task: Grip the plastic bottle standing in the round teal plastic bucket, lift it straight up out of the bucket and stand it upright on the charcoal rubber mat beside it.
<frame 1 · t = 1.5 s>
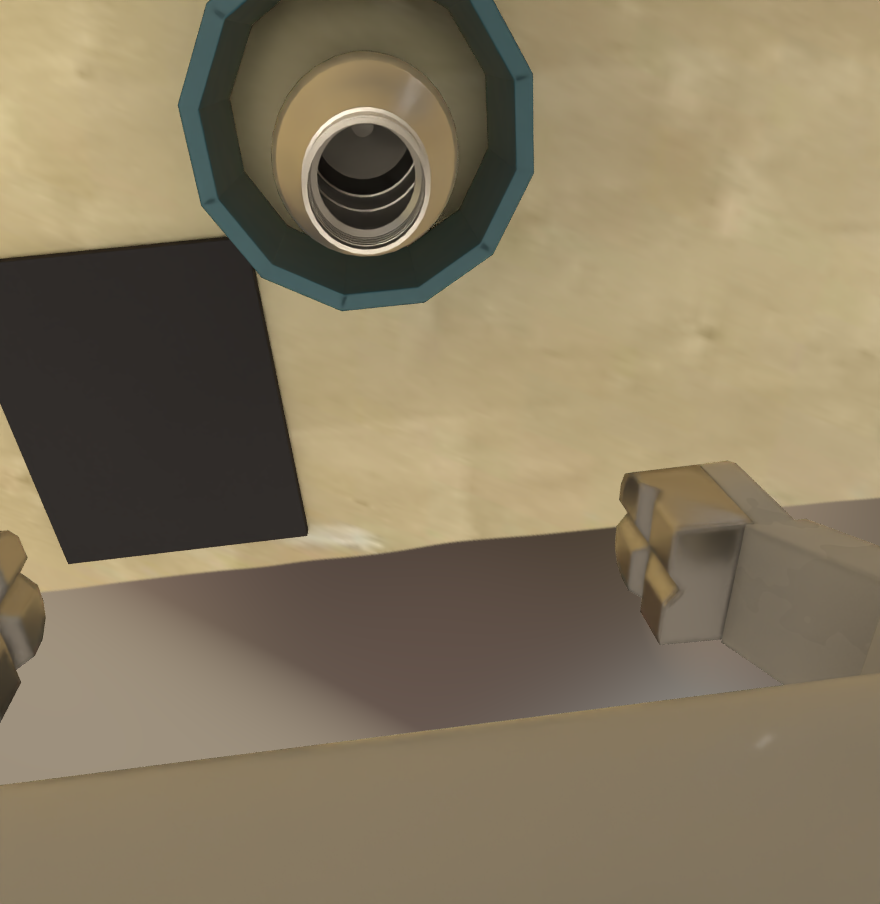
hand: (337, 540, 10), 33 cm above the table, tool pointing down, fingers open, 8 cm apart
plastic bottle: (362, 123, 37), resting in bucket
bucket: (362, 123, 37), on the table
mat: (150, 412, 44), on the table
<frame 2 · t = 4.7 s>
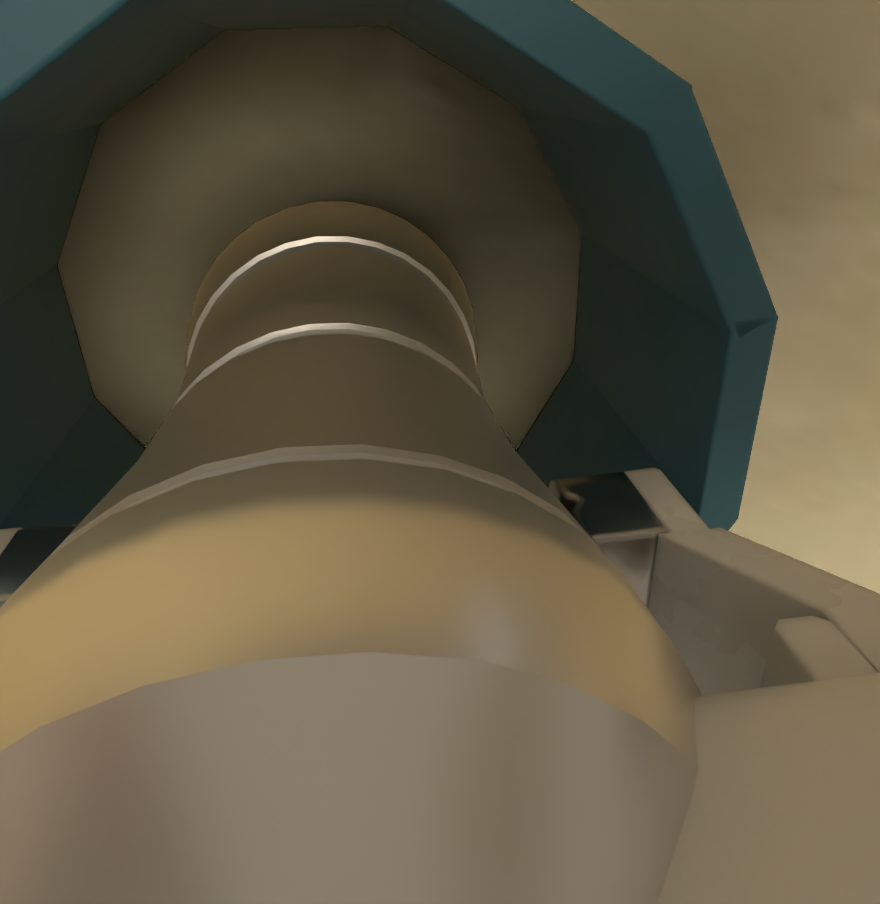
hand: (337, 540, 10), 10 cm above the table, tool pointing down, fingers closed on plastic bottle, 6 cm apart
plastic bottle: (336, 315, 19), resting in bucket, touching gripper
bucket: (335, 316, 19), on the table
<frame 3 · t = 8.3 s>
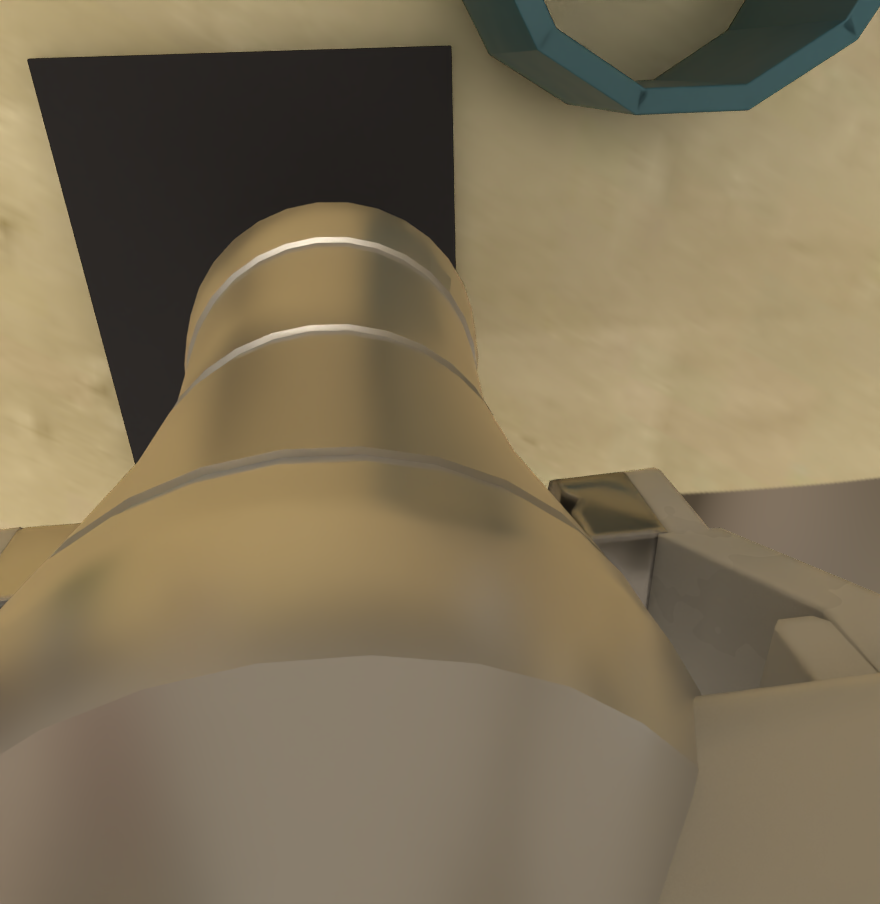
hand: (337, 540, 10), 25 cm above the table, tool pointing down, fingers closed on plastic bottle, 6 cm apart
plastic bottle: (336, 315, 19), point 14 cm above the table, touching gripper
mat: (281, 301, 33), on the table
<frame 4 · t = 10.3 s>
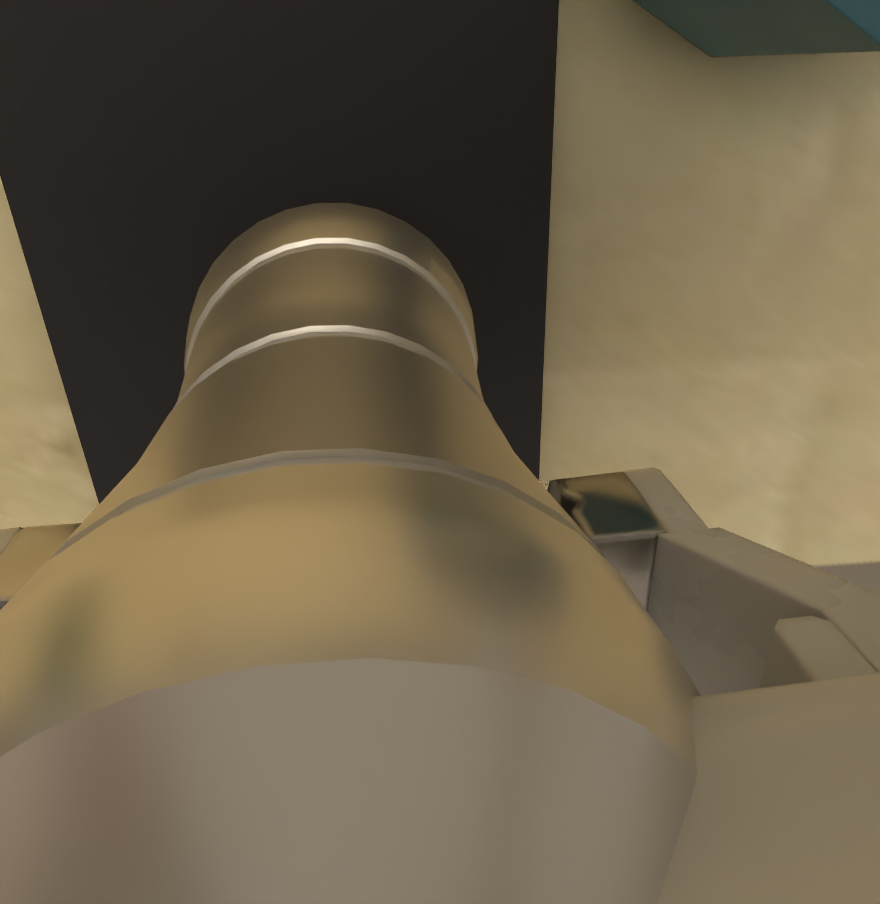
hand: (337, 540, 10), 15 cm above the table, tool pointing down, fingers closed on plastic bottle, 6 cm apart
plastic bottle: (336, 316, 19), point 5 cm above the table, touching gripper
mat: (308, 329, 24), on the table
when the fingers open (11 cm above the table, at t = 12.0 s): plastic bottle stays where it is, resting on mat.
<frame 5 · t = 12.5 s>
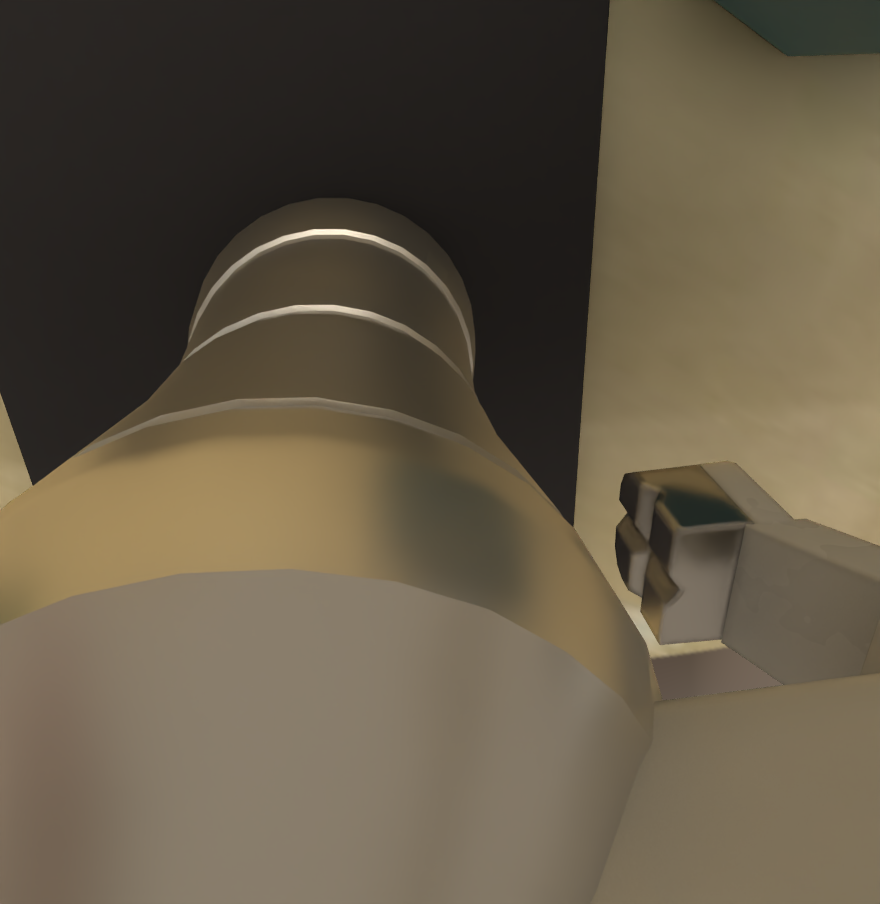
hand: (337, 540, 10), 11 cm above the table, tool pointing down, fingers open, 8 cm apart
plastic bottle: (340, 313, 19), point 1 cm above the table, touching mat
mat: (307, 375, 21), on the table
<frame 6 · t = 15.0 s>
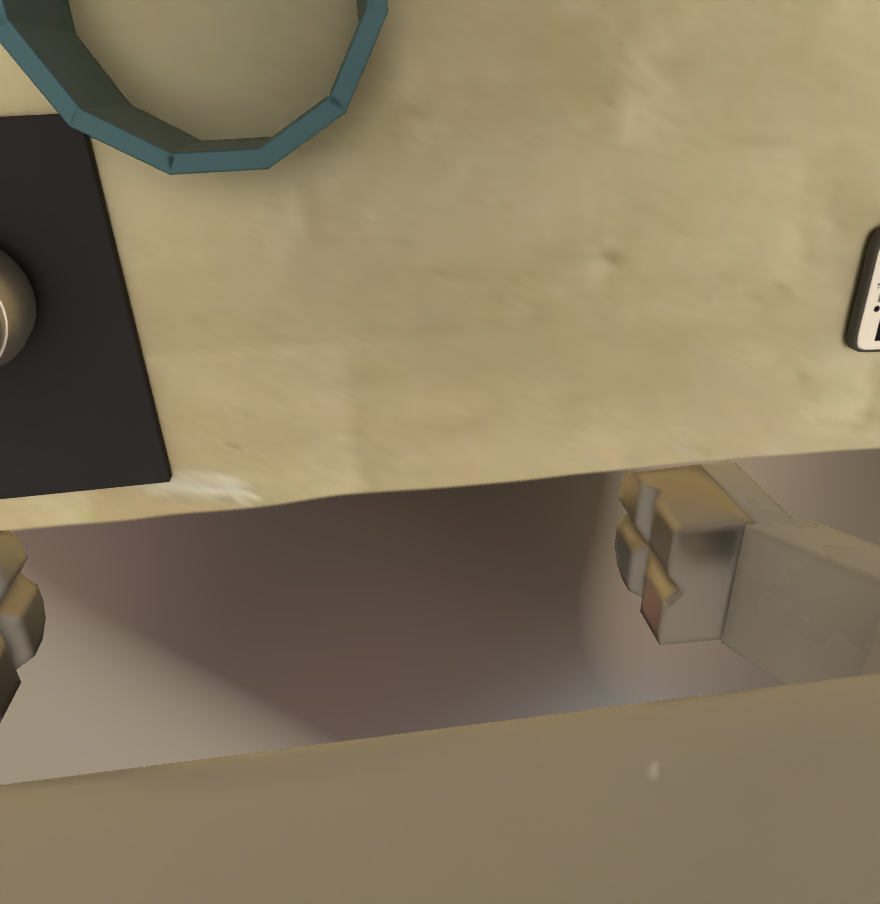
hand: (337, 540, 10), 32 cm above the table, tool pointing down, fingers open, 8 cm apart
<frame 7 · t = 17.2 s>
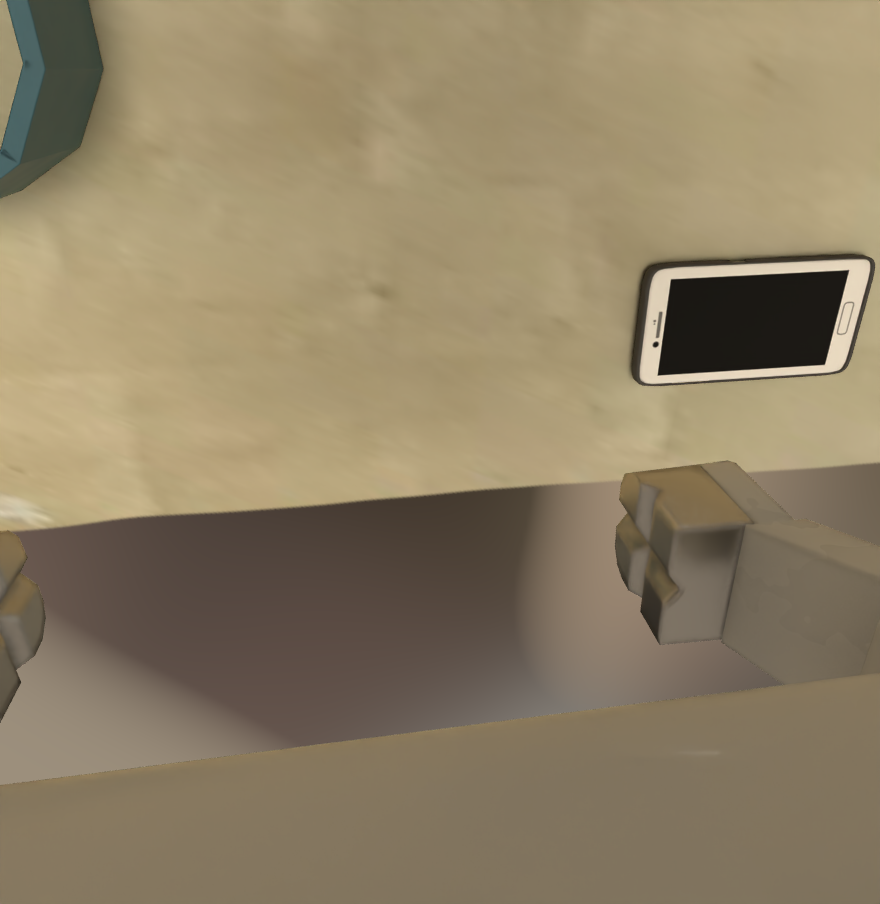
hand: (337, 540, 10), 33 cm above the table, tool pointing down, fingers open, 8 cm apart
cell phone: (744, 318, 46), on the table
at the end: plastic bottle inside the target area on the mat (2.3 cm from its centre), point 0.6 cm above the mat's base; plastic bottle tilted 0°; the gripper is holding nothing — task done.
